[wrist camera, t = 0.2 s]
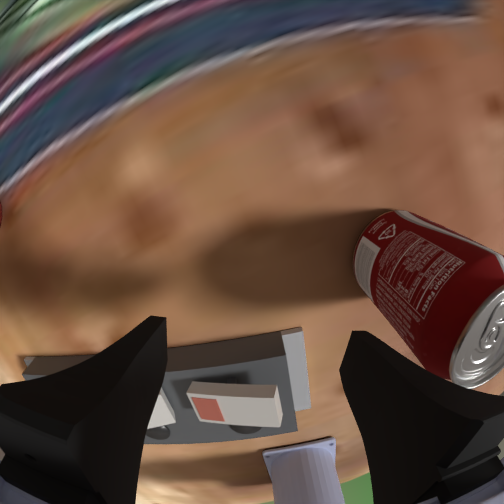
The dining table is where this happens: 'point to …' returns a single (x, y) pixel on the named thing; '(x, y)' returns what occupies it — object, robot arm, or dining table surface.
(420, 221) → the soda can
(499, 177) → the dining table surface
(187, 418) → the power strip
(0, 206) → the onion
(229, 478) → the dining table surface
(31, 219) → the dining table surface
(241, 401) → the rocker
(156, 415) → the rocker middle
